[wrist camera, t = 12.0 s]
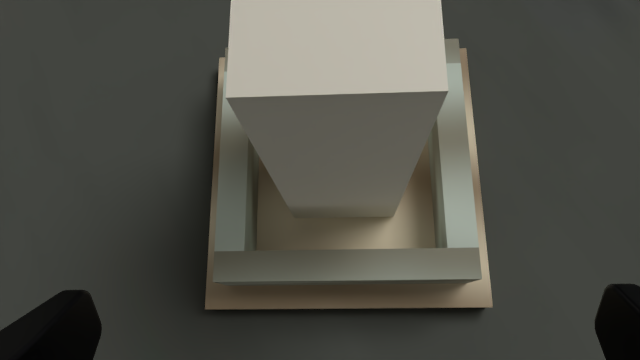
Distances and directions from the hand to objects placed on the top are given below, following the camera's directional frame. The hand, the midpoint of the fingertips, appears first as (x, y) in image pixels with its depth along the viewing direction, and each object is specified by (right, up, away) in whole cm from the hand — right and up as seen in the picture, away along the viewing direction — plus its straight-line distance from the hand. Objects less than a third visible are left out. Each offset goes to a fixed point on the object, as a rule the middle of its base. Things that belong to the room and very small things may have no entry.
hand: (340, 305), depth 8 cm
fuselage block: (+1, +3, +14) cm, 14 cm away
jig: (+1, +2, +15) cm, 15 cm away
